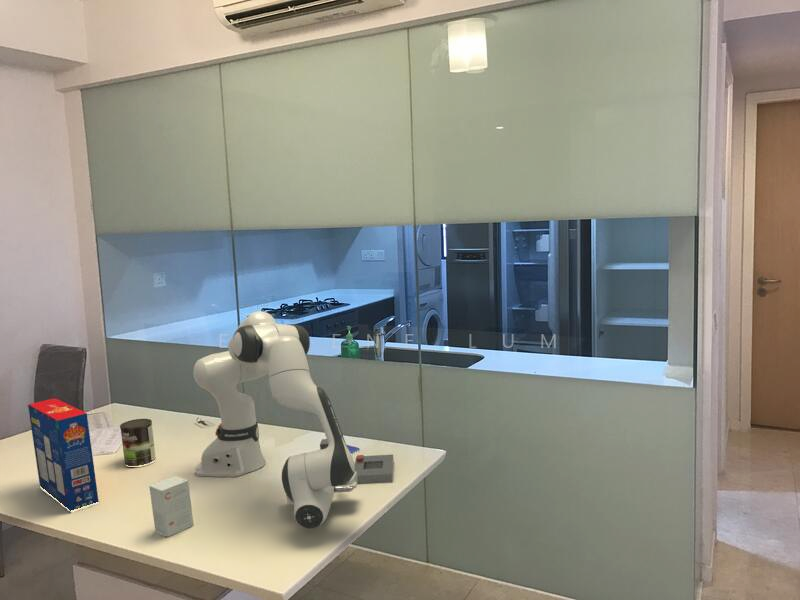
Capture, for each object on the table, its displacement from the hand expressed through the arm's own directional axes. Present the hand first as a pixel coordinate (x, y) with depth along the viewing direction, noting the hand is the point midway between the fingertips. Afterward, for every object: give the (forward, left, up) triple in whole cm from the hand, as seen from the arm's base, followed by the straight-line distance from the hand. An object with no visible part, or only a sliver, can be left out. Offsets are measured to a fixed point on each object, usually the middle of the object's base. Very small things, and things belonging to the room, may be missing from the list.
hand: (324, 470), depth 198 cm
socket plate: (+13, +14, -7) cm, 20 cm away
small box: (-39, -17, -7) cm, 43 cm away
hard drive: (0, +31, -8) cm, 32 cm away
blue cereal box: (-81, +9, -7) cm, 82 cm away
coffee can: (-69, +35, -7) cm, 77 cm away
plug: (0, +11, -7) cm, 13 cm away
